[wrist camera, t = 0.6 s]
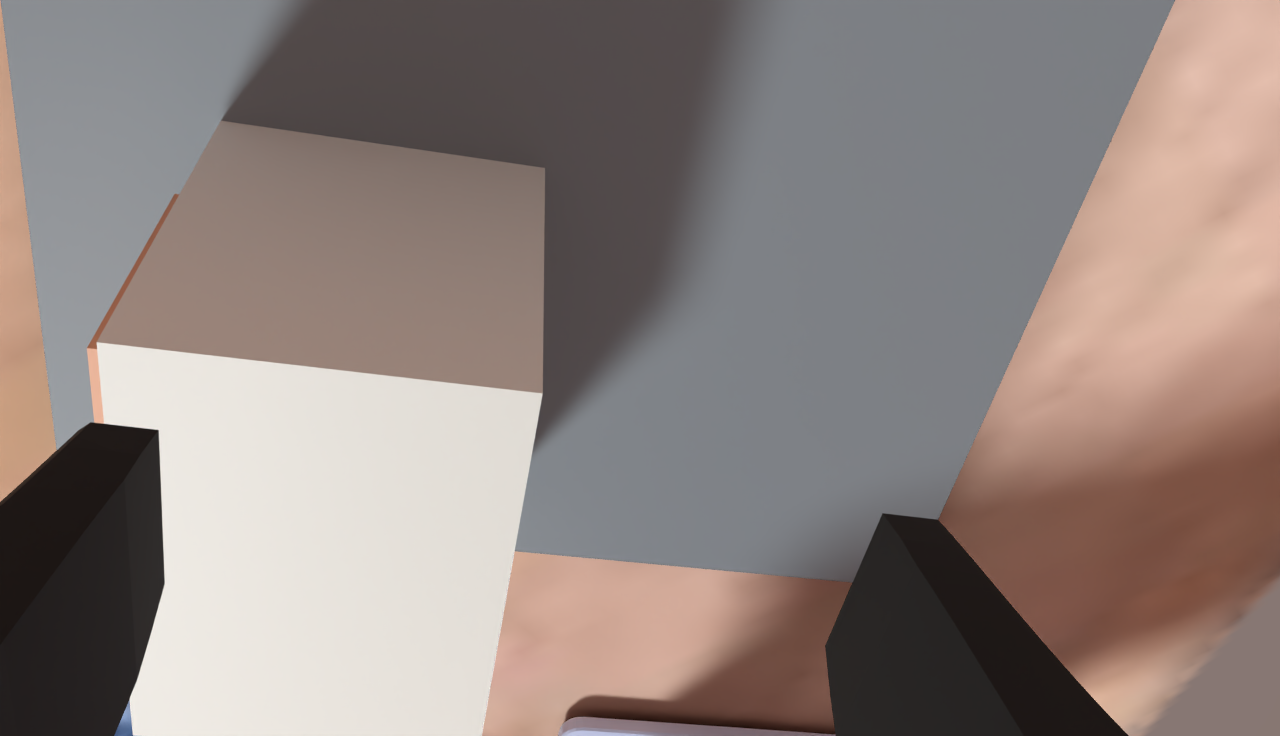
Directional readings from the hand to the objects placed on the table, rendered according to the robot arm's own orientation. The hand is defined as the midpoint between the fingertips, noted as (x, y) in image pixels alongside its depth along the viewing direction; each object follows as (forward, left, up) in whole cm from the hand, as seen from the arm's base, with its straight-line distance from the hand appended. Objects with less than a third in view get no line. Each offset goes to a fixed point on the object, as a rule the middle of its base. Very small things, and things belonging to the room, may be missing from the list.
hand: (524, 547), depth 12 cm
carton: (-3, +2, -9) cm, 9 cm away
